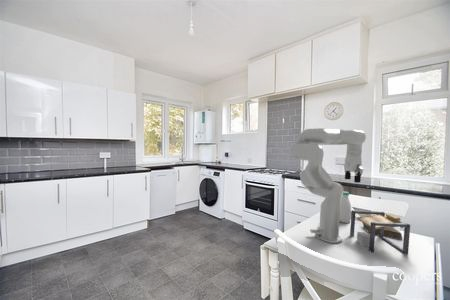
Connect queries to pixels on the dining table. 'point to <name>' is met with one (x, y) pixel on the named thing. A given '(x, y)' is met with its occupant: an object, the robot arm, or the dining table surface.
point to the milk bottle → (345, 208)
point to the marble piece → (386, 232)
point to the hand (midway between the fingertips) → (352, 180)
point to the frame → (382, 231)
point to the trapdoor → (380, 220)
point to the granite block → (363, 238)
